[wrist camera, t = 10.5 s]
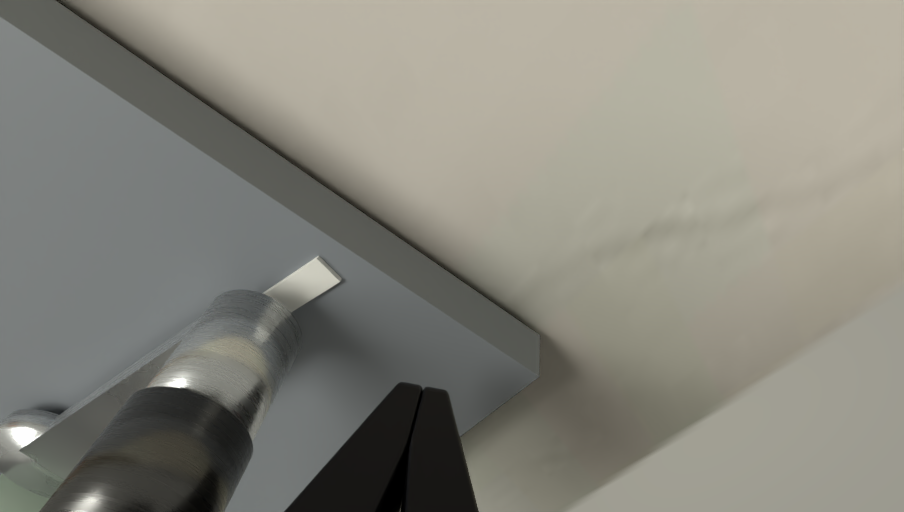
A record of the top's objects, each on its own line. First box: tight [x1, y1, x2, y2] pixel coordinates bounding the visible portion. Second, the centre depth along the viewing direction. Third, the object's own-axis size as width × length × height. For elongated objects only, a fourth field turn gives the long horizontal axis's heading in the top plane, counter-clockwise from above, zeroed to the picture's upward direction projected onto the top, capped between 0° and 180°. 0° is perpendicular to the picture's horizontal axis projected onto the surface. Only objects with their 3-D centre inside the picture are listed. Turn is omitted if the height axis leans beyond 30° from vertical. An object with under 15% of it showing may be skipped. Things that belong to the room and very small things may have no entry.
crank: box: [0, 290, 303, 512], centre depth 11 cm, size 10×3×5 cm, turn 128°
